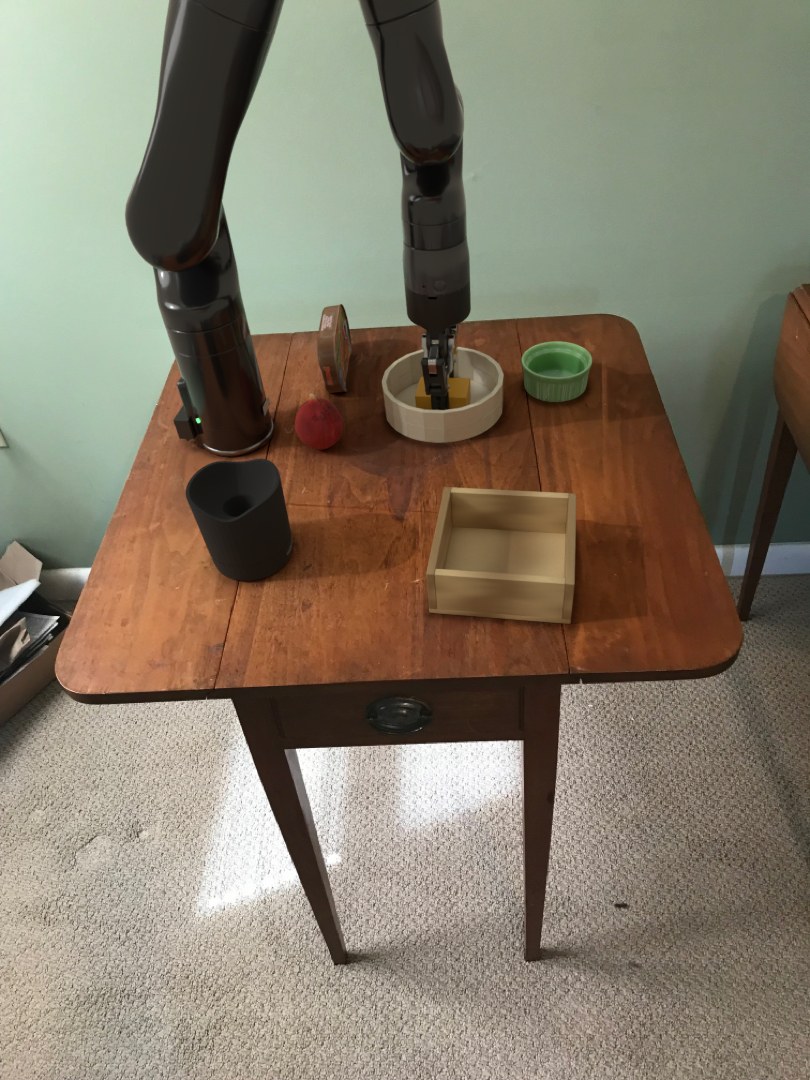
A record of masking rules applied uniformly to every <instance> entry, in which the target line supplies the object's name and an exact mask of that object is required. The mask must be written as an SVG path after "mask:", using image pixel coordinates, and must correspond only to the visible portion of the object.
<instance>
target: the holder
mask: <svg viewBox="0 0 810 1080" xmlns="http://www.w3.org/2000/svg"><path fill="white" fill-rule="evenodd" d="M577 499H578V498H577V493H568V492H554V491H552V492H550V491H536V490H535V491H532V490H514V489H495V488H474V487H454V486H453V487H451V486H444V487H443V490H442V495H441V501H440V505H439V510H438V515H437V519H436V524H435V529H434V533H433V538H432V543H431V549H430V553H429V557H428V562H427V567H426V572H425V577H426V589H427V598H428V599H427V601H428V611H429V613H430V614H439V615H440V614H442V615H453V616H465V617H478V618H491V619H501V620H515V621H516V620H517V621H528V622H540V623H541V622H542V623H552V624H565V625H567V624H568V625H570V624H571V623H572V614H573V605H574V596H575V586H576V548H577V547H576V544H577V543H576V541H577V540H576V539H577V501H578V500H577Z"/></svg>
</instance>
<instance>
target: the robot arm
mask: <svg viewBox="0 0 810 1080" xmlns="http://www.w3.org/2000/svg"><path fill="white" fill-rule="evenodd" d="M357 1H358V5H359V9H360V12H361V16H362V20H363V22H364V24H365V25H364V26H365V29H366V32H367V35H368V38H369V41H370V44H371V47H372V49H373V51H374V52H373V53H374V56H375V57H374V58H375V61H376V66H377V72H378V77H379V78H378V79H379V82H380V88H381V93H382V99H383V104H384V109H385V112H386V118H387V122H388V125H389V129H390V133H391V135H392V138H393V141H394V143H395V145H396V147H397V149H398V150H399V160H400V169H401V181H402V182H401V191H400V217H401V219H400V220H401V230H402V232H401V233H402V271H403V282H404V283H403V285H404V295H405V306H406V307H405V308H406V315H407V318H408V320H409V321H410V322H411V323H413V324H414V325H416V326H418V327H420V328H422V329H424V333H422V334H421V350H422V349H423V350H424V357H422V360H421V365H422V371H423V378H424V385H425V392H426V395H431V407H432V410H448V409H450V404H449V389H450V385H449V378H454V366H455V363H456V359H455V355H456V354H457V350H458V347H459V343H458V336H459V324H462V323H463V322H464V321H465V320H467V318H468V317H469V316H470V314H471V311H472V304H471V303H472V302H471V301H472V300H471V299H472V298H471V259H470V248H469V243H468V228H467V227H468V226H467V202H466V193H465V185H464V178H463V170H464V169H463V167H464V166H463V164H464V131H465V110H464V109H465V108H464V107H465V106H464V100H463V96H462V94H461V91H460V89H459V87H458V86H457V83H456V82H455V81H454V76H453V73H452V69H451V65H450V60H449V56H448V53H447V49H446V46H445V40H444V26H443V16H442V9H441V3H440V0H357ZM284 3H285V0H168V6H167V11H166V18H165V25H164V31H163V32H164V33H163V40H162V47H161V56H160V66H159V78H158V88H157V89H158V90H157V99H156V106H155V107H156V108H155V112H154V117H153V123H152V125H151V126H152V127H151V131H150V135H149V137H148V141H147V145H146V148H145V152H144V153H143V154H144V155H143V157H142V161H141V163H140V168H139V170H138V172H137V173H136V176H135V178H134V180H133V182H132V185H131V187H130V191H129V194H128V196H127V199H126V203H125V206H124V207H125V210H124V221H125V227H126V232H127V235H128V237H129V240H130V242H131V245H132V246H133V248H134V249H135V251H136V252H137V254H138V255H139V256H140V257H141V258H142V259H143V260H144V261H145V262H146V263H147V264H149V265H150V266H151V267H152V270H153V275H154V283H155V291H156V303H157V306H158V310H159V313H160V315H161V318H162V321H163V324H164V327H165V330H166V334H167V337H168V341H169V343H170V347H171V349H172V352H173V355H174V359H175V362H176V364H177V368H178V371H179V374H180V377H179V379H178V380H177V382H176V387H177V390H178V393H179V394H178V395H179V397H180V399H181V403H182V406H181V407H180V409H179V411H178V412H177V414H176V415H175V416H174V418H173V420H172V422H173V424H174V427H175V430H176V432H177V433H176V434H177V435H178V438H179V439H180V440H186V441H187V442H189V441H190V440H194V442H195V445H196V447H197V448H204V449H205V450H206V451H207V452H209V453H211V454H212V455H216V456H220V457H221V456H222V457H237V456H243V455H246V454H249V453H252V452H255V451H256V450H258V449H260V448H262V447H264V446H265V445H266V444H267V443H268V442H269V441H270V440H271V438H273V435H274V432H275V426H274V421H273V418H272V416H271V412H270V405H271V400H270V396H269V395H266V392H265V391H266V390H265V387H264V383H263V379H262V375H261V371H260V367H259V363H258V359H257V354H256V351H255V346H254V342H253V338H252V334H251V329H250V326H249V321H248V317H247V314H246V310H245V305H244V301H243V297H242V292H241V285H240V277H239V269H238V264H237V259H236V255H235V251H234V247H233V241H232V238H231V233H230V229H229V224H228V220H227V215H226V211H225V207H224V202H223V199H224V192H225V186H226V182H227V178H228V177H227V176H228V171H229V167H230V162H231V157H232V154H233V150H234V148H235V147H234V146H235V143H236V140H237V138H238V135H239V132H240V129H241V127H242V125H243V123H244V120H245V117H246V115H247V113H248V110H249V108H250V105H251V103H252V100H253V97H254V95H255V92H256V90H257V87H258V85H259V81H260V79H261V77H262V74H263V71H264V68H265V65H266V62H267V59H268V55H269V52H270V49H271V47H272V43H273V41H274V38H275V35H276V32H277V27H278V24H279V21H280V17H281V14H282V10H283V7H284Z"/></svg>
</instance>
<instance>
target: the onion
mask: <svg viewBox="0 0 810 1080" xmlns="http://www.w3.org/2000/svg"><path fill="white" fill-rule="evenodd" d="M343 423H344V421H343V416H342V413H341V412H340V410H339V409H338V408H337V406H335V405H334V403H332V402H331V401H330V400H328V399H326V398H322V397H319V396H317V395H316V393H313V392H310V393H308V399H307V400H306V401H305V402H304V403H303V404H301V406H300V407H299V409H297V411H296V414H295V420H294V430H295V432H296V434H297V437H298V438H299V440H300V441H301V442H302V443H303V444H304V445H306V446H307V447H309V448H311V449H315V450H318V451H324V450H327V449H329V448H331V447H332V446H334V445H335V444H336V443H338V441H339V440H340V438H341V437H342V434H343V432H344V424H343Z"/></svg>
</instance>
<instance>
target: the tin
mask: <svg viewBox="0 0 810 1080" xmlns="http://www.w3.org/2000/svg"><path fill="white" fill-rule="evenodd" d="M349 324H350V323H349V319H348V315H347V311H346V308H345V307H344V304H342V303H339V304H335V305H329V306H328V305H327V306H325V307H323V309H322V312H321V316H320V321H319V326H318V331H317V332H318V333H317V338H316V353H317V362H318V366H319V369H320V372H321V375H322V379H323V383H324V389H325V391H326V392H327V393H329V394H332V393H343V392H344V393H348V389H347V388H346V382H347V377H348V370H349V363H350V357H351V354H352V353H353V345H352V344H353V343H352V336H351V335H352V334H351V330H350V325H349Z"/></svg>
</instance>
